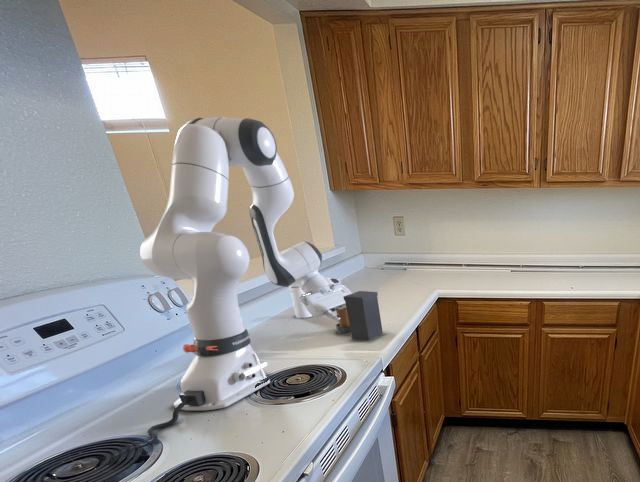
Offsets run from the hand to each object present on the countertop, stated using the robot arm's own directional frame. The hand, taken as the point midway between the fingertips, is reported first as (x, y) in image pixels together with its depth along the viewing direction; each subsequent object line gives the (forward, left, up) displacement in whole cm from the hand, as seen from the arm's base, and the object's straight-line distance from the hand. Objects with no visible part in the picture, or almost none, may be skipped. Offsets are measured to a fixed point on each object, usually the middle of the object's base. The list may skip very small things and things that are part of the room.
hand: (346, 317), depth 149 cm
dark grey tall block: (-6, -9, -5) cm, 12 cm away
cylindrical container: (+22, +29, -6) cm, 37 cm away
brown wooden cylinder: (0, +1, -5) cm, 5 cm away
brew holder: (0, +1, -5) cm, 5 cm away
